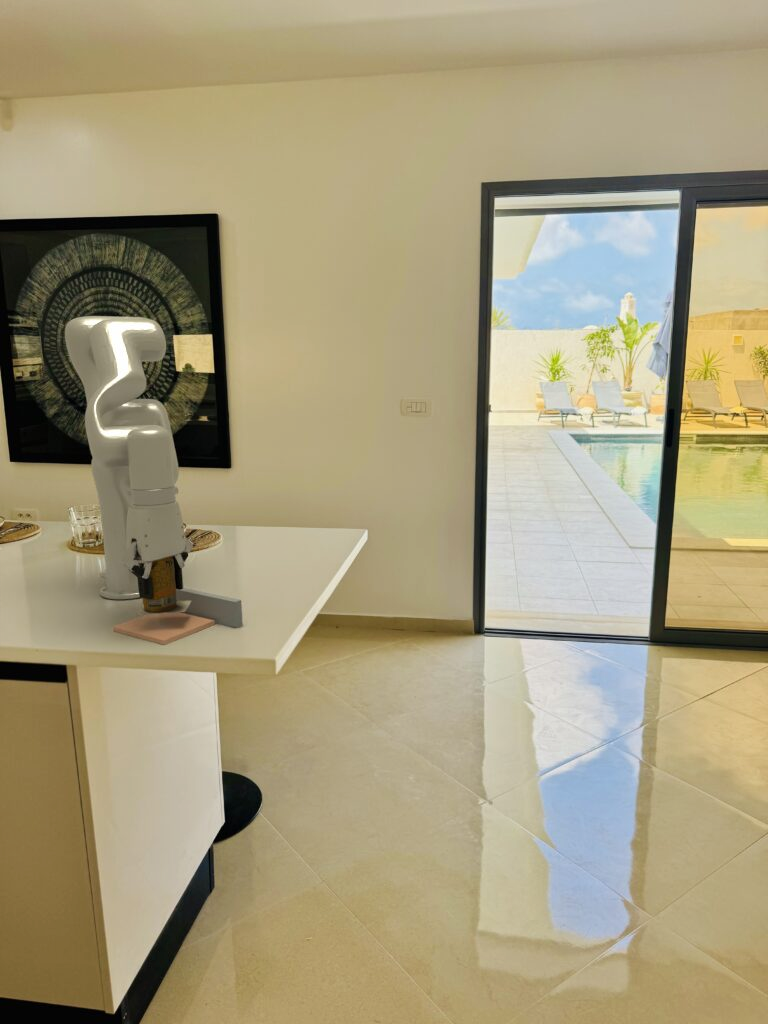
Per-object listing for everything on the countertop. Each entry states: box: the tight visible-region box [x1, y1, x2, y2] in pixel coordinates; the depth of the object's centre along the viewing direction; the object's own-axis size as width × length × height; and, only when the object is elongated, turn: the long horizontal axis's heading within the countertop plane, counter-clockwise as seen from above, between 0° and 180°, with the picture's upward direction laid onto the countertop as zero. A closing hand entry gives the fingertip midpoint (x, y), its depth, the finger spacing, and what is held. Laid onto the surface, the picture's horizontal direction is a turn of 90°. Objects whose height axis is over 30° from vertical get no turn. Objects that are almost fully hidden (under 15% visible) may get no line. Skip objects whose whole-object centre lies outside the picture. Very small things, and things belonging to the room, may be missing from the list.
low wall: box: [176, 587, 244, 629], centre depth 140 cm, size 22×2×5 cm, turn 57°
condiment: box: [137, 557, 191, 615], centre depth 133 cm, size 7×8×12 cm
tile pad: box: [112, 612, 216, 646], centre depth 134 cm, size 14×12×1 cm
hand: (161, 592), depth 133 cm, fingers closed on condiment, 6 cm apart
